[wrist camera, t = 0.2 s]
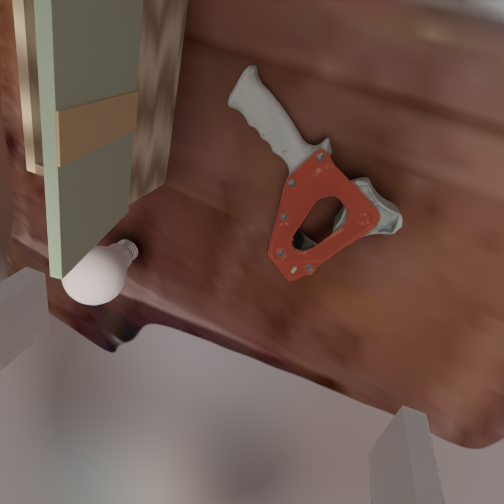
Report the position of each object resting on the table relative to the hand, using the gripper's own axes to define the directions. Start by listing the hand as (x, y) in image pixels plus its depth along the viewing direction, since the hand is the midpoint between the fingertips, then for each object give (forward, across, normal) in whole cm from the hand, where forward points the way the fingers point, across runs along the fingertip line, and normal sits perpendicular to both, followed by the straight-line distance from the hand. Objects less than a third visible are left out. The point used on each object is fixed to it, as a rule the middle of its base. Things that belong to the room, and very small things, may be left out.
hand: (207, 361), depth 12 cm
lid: (+13, -14, +3) cm, 19 cm away
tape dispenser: (+28, +1, 0) cm, 28 cm away
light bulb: (+27, -18, -16) cm, 37 cm away
